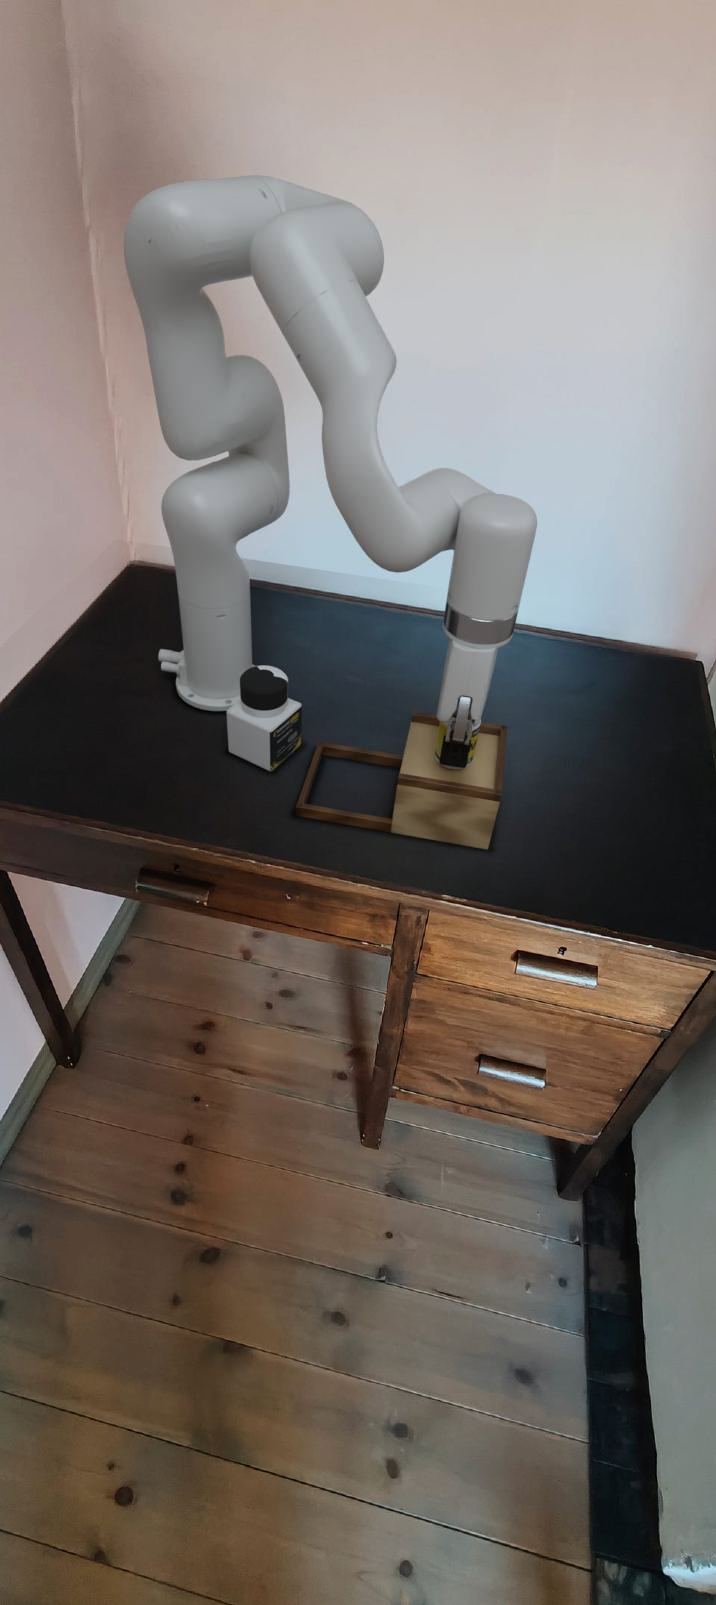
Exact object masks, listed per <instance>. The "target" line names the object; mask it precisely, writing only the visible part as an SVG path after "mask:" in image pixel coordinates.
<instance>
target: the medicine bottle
mask: <svg viewBox="0 0 716 1605" xmlns="http://www.w3.org/2000/svg"><path fill="white" fill-rule="evenodd" d="M240 698H241V699H240V700H239V701H238V702H237V703H235V704H234V705H233V706H232V707H230V708H229V709H228V710H227V711H226V729H227V744H228V752H229V753H230V754H232V755H234V756H237V757H238V758H241V759H243V760H245V761H247V762H249V763H251V764H254V765H256V766H258V767H260V768H262V769H264V770H266V771H268V772H273V771H274V770H275V769H276V768H277V767H278V766H280V764H281V763H283V762H284V761H285V760H286V759H287V758H288V757H289V756H290V755H291V754H293V753H294V752H295V751H296V750H297V749H298V748H299V747H300V746H301V744H302V717H303V716H302V715H303V714H302V712H303V711H302V710H303V709H302V708H303V705H302V703H301V702H299V701H296V700H294V699H292V698H290V697H289V678H288V676H287V674H286V673H285V672H284V671H283V670H281V669H280V668H278V667H275V666H271V665H265V664H263V665H255V667H252V668H249V669H248V670H246V671H245V672H244V673H243V674H242V675H241V677H240Z"/></svg>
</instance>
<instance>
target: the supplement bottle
mask: <svg viewBox="0 0 716 1605" xmlns="http://www.w3.org/2000/svg"><path fill="white" fill-rule="evenodd" d="M453 714H456V715H457V712H454V713H453ZM468 717H471V714H468ZM448 721H449V720H448ZM448 721H447V722H445V721H440V725H439V731H438V736H437V742H436V747H435V758H436V760H437V762H438V763H439V760H440V754H441V749H442V743H443V737H444V735H446V733H447V727H448ZM481 722H482V718H481V719H480V722H479V724H478V725H477V726H474V725H472V731H471V736H470V740H471V746H470V750H469V755H468V760H467V765H466V767H468V766H469V765H470V764H471V763H472V761H473V757H474V752H475V747H476V743H477V738H478V734H479V729H480V725H481ZM467 726H468V725H466V730H465V732H466V731H467ZM454 728H455V723H453V725H452V730H454ZM452 730H451V731H452ZM439 764H440V763H439ZM442 766H444V767H446V768H450V769H463V768H459V767H453V766H447V765H442ZM466 767H465V768H466Z"/></svg>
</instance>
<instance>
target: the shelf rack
mask: <svg viewBox="0 0 716 1605" xmlns="http://www.w3.org/2000/svg"><path fill="white" fill-rule="evenodd" d="M439 725H440V721H439V720H438V718H437V713H436V714H435V713H429V712H424V711H417V710H412V714H411V719H410V724H409V730H408V733H407V738H406V743H405V747H404V752H403V755H401V754H395V753H389V752H383V751H377V750H371V749H365V748H360V747H354V746H347V745H341V744H335V743H329V742H324V741H318V742H317V744H316V747H315V751H314V753H313V756H312V759H311V762H310V764H309V768H308V771H307V774H306V777H305V779H304V782H303V785H302V788H301V791H300V794H299V797H298V800H297V802H296V805H295V816H297V817H300V818H307V819H313V820H319V821H323V822H324V821H325V822H330V823H334V824H341V825H347V826H353V827H357V828H363V829H370V830H373V831H380V832H386V833H392V834H398V835H403V836H409V837H415V838H420V839H426V840H430V841H431V840H432V841H436V842H442V843H447V844H454V845H460V846H466V847H470V848H477V849H482V850H489V846H490V843H491V838H492V834H493V830H494V827H495V822H496V819H497V815H498V811H499V807H500V802H501V800H502V794H503V783H504V772H505V771H504V769H505V761H506V760H505V759H506V747H507V736H508V735H507V734H508V726H507V725H504V724H503V725H502V724H497V723H491V722H484V721H481V725H480V729H479V734H478V738H477V743H476V747H475V752H474V757H473V761H472V763H471V764H470V765H469V766H468V767H466V768H463V769H450V768H446V767H444V766H442V765H441V764H439V763H438V762H437V760H436V758H435V747H436V742H437V736H438V731H439ZM323 756H327V757H333V758H339V759H345V760H350V761H356V762H361V763H362V762H363V763H368V764H374V765H379V766H385V767H391V768H396V769H399V773H398V776H397V782H396V784H397V785H396V789H395V790H396V792H395V797H394V805H393V812H392V818H388V817H382V816H377V815H372V814H365V813H360V812H353V811H349V810H343V809H338V808H337V809H336V808H331V807H325V806H320V805H314V804H308V800H309V796H310V794H311V791H312V788H313V786H314V782H315V779H316V777H317V773H318V770H319V767H320V764H321V761H322V758H323Z"/></svg>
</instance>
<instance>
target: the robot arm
mask: <svg viewBox="0 0 716 1605" xmlns="http://www.w3.org/2000/svg"><path fill="white" fill-rule="evenodd" d="M123 257H124V264H125V271H126V274H127V278H128V281H129V284H130V288H131V291H132V295H133V297H134V300H135V304H136V306H137V308H138V313H139V316H140V320H141V322H142V327H143V333H144V337H145V343H146V350H147V356H148V363H149V368H150V374H151V380H152V386H153V392H154V398H155V404H156V409H157V415H158V420H159V426H160V430H161V434H162V437H163V440H164V442H165V444H166V445H167V447H168V449H169V451H170V452H172V454H174V455H175V456H176V457H177V458H178V459H182V460H185V461H189V462H190V461H193V462H194V461H201V460H205V459H209V458H212V457H216V456H219V455H222V454H224V453H227V454H228V456H226V457H223V458H221V459H218V460H214V461H212V462H209V463H206V464H204V465H202V466H199V467H196V468H194V469H192V470H190V471H187V472H186V473H183V474H182V475H180V476H179V477H177V478H176V479H174V480H173V481H172V482H171V483H170V484H169V485H168V486H167V488H166V489H165V492H164V493H163V496H162V499H161V505H160V507H161V516H162V522H163V526H164V528H165V531H166V534H167V537H168V541H169V545H170V547H171V552H172V558H173V563H174V569H175V578H176V586H177V594H178V595H177V596H178V605H179V614H180V615H179V616H180V626H181V638H182V646H183V647H182V648H183V649H182V650H181V651H174V650H171V649H164V648H160V649H159V651H158V656H157V657H158V659H157V660H158V662H159V663H161V664H160V671H162V672H167V673H175V674H176V678H175V687H176V688H175V689H176V692H177V694H178V696H179V698H181V699H182V701H184V702H185V703H186V704H188V705H190V706H191V707H193V708H197V709H200V710H203V711H209V712H227V710H228V709H229V708H230V707H232V706H233V705H234V704H235V703H237V702H238V701H239V700H240V699H241V698H240V677H241V675H242V674H243V673H244V672H245V671H246V670H248V669H249V668H252V667H255V666H256V665H255V664H253V642H252V608H251V584H250V583H251V582H250V581H251V580H250V575H249V573H250V572H249V570H248V566H247V564H246V563H245V561H244V560H243V559H242V557H241V556H240V555H239V553H238V551H237V545H238V542H240V541H241V540H243V539H244V538H246V537H249V535H251V534H253V533H256V532H257V531H259V530H261V529H262V528H265V527H267V526H269V525H271V524H272V523H274V522H276V521H278V520H279V519H280V518H281V517H282V516H283V515H284V513H285V512H286V509H287V508H288V504H289V501H290V492H291V490H290V488H291V483H290V468H289V467H290V466H289V454H288V440H287V439H288V438H287V428H286V416H285V405H284V401H283V396H282V393H281V390H280V387H279V385H278V383H277V380H276V378H275V377H274V374H272V372H271V370H270V369H269V368H268V367H267V366H266V365H265V364H264V363H263V362H262V361H260V360H259V359H257V358H255V357H253V356H250V355H245V354H236V355H235V354H234V355H230V356H227V353H226V352H227V351H226V345H225V343H226V342H225V333H224V328H223V325H222V324H223V323H222V320H221V318H220V316H219V313H218V310H217V309H216V307H215V305H214V303H213V301H212V299H211V298H210V296H209V295H208V293H207V291H205V290H204V287H207V286H209V285H213V284H218V283H223V282H228V281H229V282H231V281H236V280H242V279H246V278H251V277H252V278H253V280H254V283H255V286H256V287H257V290H258V292H259V293H260V295H261V297H262V299H263V301H264V303H265V304H266V306H267V308H268V310H269V312H270V314H271V316H272V318H273V319H274V321H275V323H276V325H277V327H278V328H279V330H280V332H281V334H282V336H283V337H284V339H285V341H286V343H287V345H288V346H289V348H290V350H291V352H292V354H293V355H294V357H295V359H296V362H297V363H298V365H299V367H300V368H301V370H302V372H303V374H304V376H305V378H306V379H307V382H308V383H309V385H310V386H311V388H312V390H313V391H314V393H315V394H314V395H315V396H316V397H317V400H318V402H319V404H320V408H321V412H322V422H321V423H322V425H321V447H322V448H321V449H322V456H323V457H322V458H323V465H324V471H325V478H326V482H327V486H328V489H329V492H330V494H331V497H332V499H333V502H334V504H335V506H336V507H337V509H338V511H339V513H340V515H341V517H342V518H343V520H344V522H345V524H346V525H347V527H348V529H349V531H350V532H351V534H352V536H353V537H354V539H355V541H356V543H357V544H358V545H359V547H360V549H362V551H363V552H364V554H365V555H366V556H367V557H368V558H369V559H370V560H371V561H372V562H373V563H374V564H375V565H377V566H378V567H379V568H381V569H382V570H385V571H388V572H391V573H397V574H398V573H406V572H410V571H412V570H415V569H417V568H418V567H420V566H422V565H423V564H425V563H426V562H428V561H430V560H431V559H433V558H434V557H436V556H437V555H438V554H440V553H442V552H445V551H453V555H452V562H451V568H450V576H449V580H448V581H449V582H448V587H447V593H446V600H445V601H446V602H445V608H444V613H443V614H444V615H443V619H442V631H443V632H444V634H445V635H446V637H448V644H447V648H446V656H445V660H444V667H443V671H442V672H443V673H442V678H441V685H440V690H439V698H438V702H437V703H438V704H437V711H436V715H437V718H438V720H439V721H445V722H447V721H448V720H449V721H448V727H447V733H446V735H444V737H443V743H442V749H441V754H440V760H439V763H440V764H441V765H447V766H453V767H459V768H465V767H466V765H467V760H468V755H469V750H470V746H471V740H470V736H471V731H472V725H474V726H477V725H478V724H479V722H480V719H481V720H482V717H483V716H482V715H483V712H484V709H485V705H486V702H487V698H488V694H489V692H490V691H489V690H490V686H491V682H492V680H493V679H492V678H493V674H494V669H495V665H496V662H497V658H498V652H499V648H501V647H503V646H505V645H507V644H508V643H510V641H512V639H513V636H514V633H515V632H514V631H515V627H516V622H517V618H518V614H519V609H520V605H521V600H522V596H523V592H524V587H525V583H526V579H527V575H528V569H529V564H530V560H531V556H532V552H533V547H534V542H535V538H536V534H537V527H538V518H537V514H536V511H535V509H534V508H533V507H532V506H531V505H530V504H529V503H528V502H526V501H525V500H523V499H522V498H518V497H516V496H513V495H508V494H503V493H496V492H494V491H492V490H491V489H488V488H487V486H484V485H482V484H481V483H479V482H478V481H476V480H475V479H473V478H472V477H470V476H468V475H466V474H464V473H463V472H461V471H459V470H456V469H453V468H449V467H439V468H435V469H432V470H429V471H427V472H426V473H424V474H422V475H420V476H418V477H416V478H414V479H412V480H410V481H409V480H408V481H407V482H406V483H404V484H402V485H400V486H398V484H397V482H396V481H395V479H394V477H393V475H392V473H391V471H390V470H389V467H388V465H387V463H386V460H385V457H384V455H383V453H382V452H383V451H382V449H381V445H380V441H379V435H378V434H379V432H378V417H379V410H380V406H381V403H382V398H383V396H384V393H385V391H386V389H387V388H388V385H389V383H390V382H391V380H392V378H393V376H394V374H395V373H396V369H397V365H398V364H397V363H398V360H397V355H396V351H395V350H394V348H393V346H392V344H391V342H390V340H389V339H388V337H387V335H386V333H385V330H384V329H383V327H382V325H381V323H380V322H379V320H378V318H377V316H376V315H375V312H374V311H373V308H372V307H371V304H370V302H369V300H368V298H367V297H368V296H370V295H371V293H372V292H374V291H375V289H376V288H377V287H378V285H379V284H380V282H381V279H382V275H383V273H384V267H385V266H384V265H385V251H384V246H383V241H382V238H381V236H380V233H379V230H378V228H377V227H376V225H375V222H374V221H373V220H372V219H371V218H370V216H369V215H368V214H367V213H366V212H364V210H362V209H361V208H360V207H358V206H357V205H355V204H354V203H352V202H350V201H347V200H345V199H341V198H339V197H336V196H332V195H330V194H326V193H323V192H320V191H317V190H313V189H310V188H308V187H307V188H306V187H304V186H302V185H299V184H295V183H292V182H289V181H286V180H283V179H280V178H276V177H273V176H267V175H254V174H253V175H241V176H231V177H230V176H229V177H220V178H204V179H194V180H193V179H192V180H185V181H180V182H174V183H170V184H167V185H163V186H161V187H158V188H156V189H154V190H152V191H150V192H149V193H147V194H146V195H144V196H142V198H140V199H139V200H138V202H137V203H136V204H135V205H134V206H133V208H132V210H131V211H130V213H129V216H128V218H127V221H126V224H125V229H124V235H123ZM454 712H457V715H456V714H453V713H454ZM468 714H471V717H468ZM453 723H455V728H454V730H452V725H453ZM466 725H468V726H467V731H466V732H465V730H466ZM451 730H452V731H451Z"/></svg>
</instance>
